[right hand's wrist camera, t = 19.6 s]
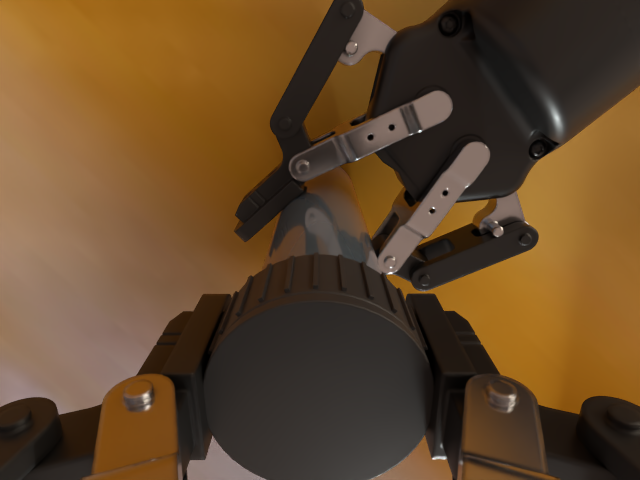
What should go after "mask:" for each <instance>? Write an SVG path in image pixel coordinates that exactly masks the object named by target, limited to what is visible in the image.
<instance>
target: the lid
mask: <svg viewBox="0 0 640 480" xmlns="http://www.w3.org/2000/svg"><path fill="white" fill-rule="evenodd" d="M426 350H428V348H427V345H426V343H425V340H424V338H423V335H422V333H421V330H420V328H419V325H418V323H417V320H416V318H415V315H414V313H413V310H412V308H411V306H408V307H407V304H406V301H405V299H404V296H403V294H402V291H401V289H400V288H398V289H396V288H395V287H394V286H393V285H392V283H391V282H390V281H389V280H388V279H387V277H386V275H385V274H384V273H382V274H380V273H379V272H377V271H376V270H374V269H372V268H371V267H369V266H367V265H366V262H364V261H362V262H361V263H360V262H358V261H355V260H352V259H349V258H345V257H343V255H341V254H339V255H338V256H334V255H324V254H318V252H314V254H313V255H302V256H297V257H294V255H292V256H290V257H289V258H288V259H286V260H283V261H280V262H277V263H275V264H273V265H272V264H271V263H270V264H268V265H267V267H266V268H265V269H263V270H262V271H260V272H259V273H257V274H256V275H255V276H254V277H253V276H250V277H248V280H247V282H246V284H245V285H244V286H243V287H242V288H241V290H240V291H239V292H236V291H235V293H234V294H233V297H232V299H231V302H230V304H229V307H228V309H227V310H226V309H225V311H224V314H223V316H222V319H221V321H220V324H219V326H218V329H217V331H216V333H215V336H214V338H213V341H212V343H211V346H210V348H209V351H208V353H207V354H209V355H211V356H210V359H209V361H208V363H207V366H206V369H205V372H204V376H203V389H204V398H205V406H206V414H207V422H208V427H209V429H210V431H211V433H212V435H213V436H214V438H215V440H216V441H217V442H218V444H219V445H220V446H221V447H222V449H223V450H224V451H225V452H226V453H227V454H228V455H229V456H230V457H231V458H232V459H233V460H234V461H236V462H237V463H238V464H240V465H241V466H242V467H244V468H245V469H247V470H249V471H251V472H252V473H254V474H256V475H258V476H260V477H262V478H265V479H267V480H370V479H373V478H375V477H377V476H379V475H381V474H383V473H385V472H387V471H389V470H390V469H392V468H393V467H395V466H396V465H398V464H399V463H400V462H401V461H403V460H404V459H405V458H406V457H407V456H408V455H409V454H410V453H411V452H412V451H413V450H414V449H415V448H416V447H417V445H418V444H419V443H420V441H421V440H422V438H423V437H424V435H425V433H426V431H427V429H428V427H429V425H430V417H431V409H432V400H433V391H434V375H433V372H432V369H431V366H430V363H429V361H428V358H427V356H426V353H425V351H426Z"/></svg>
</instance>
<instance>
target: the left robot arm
mask: <svg viewBox="0 0 640 480" xmlns="http://www.w3.org/2000/svg"><path fill="white" fill-rule="evenodd" d="M369 52H376V53H379V54H381V56H380V60H379V64H378V68H377V73H376V77H375V81H374V85H373V89H372V93H371V97H370V102H369V106H368V110H367V111H366V112H364V113H362V114H360V115H358V116H356V117H354V118H352V119H350V120H348V121H346V122H344V123H342V124H340V125H338V126H336V127H335V128H333V129H332V130H330V131H328V132H326V133H324V134H322V135H320V136H318V137H316V138H314V139H312V140H311V139H310V137H309V134H308V132H307V129H306V127H305V124H304V120H305V118H306V116H307V115H308V113H309V111H310V109H311V108H312V106H313V104H314V102H315V100H316V99H317V97H318V95H319V93H320V92H321V90H322V88H323V86H324V84H325V83H326V81H327V79H328V77H329V76H330V74H331V72H332V70H333V68H334V67H335V65H336V63H337V61H338V62H339V63H341V64H343V65H346V66H350V65H354V64H356V63H358V62H359V61H360V60H361V59H362V58H363V56H364V55H365V54H367V53H369ZM638 86H640V0H449V1H448V2H447V3H445V4H444V5H443V6H442V7H441V8H440V9H439V10H438V11H437V12H436V13H435V14H434V15H432V16H431V17H430V18H429V19H428V20H426V21H425V22H423V23H421V24H418V25H415V26H410V27H406V28H404V29H402V30H400V31H398V32H396V31H395V30H393V29H392V28H390V27H389V26H387V25H386V24H384V23H383V22H381V21H380V20H379V19H377V18H376V17H374V16H373V15H371V14H370V13H368V12H367V11H365V10H364V6H363V2H362V0H334V1H333V3H332V5H331V7H330V8H329V10H328V12H327V14H326V16H325V18H324V20H323V22H322V23H321V25H320V27H319V29H318V31H317V33H316V35H315V36H314V38H313V40H312V42H311V44H310V46H309V48H308V49H307V51H306V53H305V55H304V57H303V59H302V61H301V63H300V64H299V66H298V68H297V70H296V72H295V74H294V76H293V77H292V79H291V81H290V83H289V85H288V87H287V89H286V91H285V92H284V94H283V96H282V98H281V100H280V102H279V104H278V105H277V107H276V109H275V111H274V113H273V115H272V117H271V120H270V127H271V130H272V132H273V133H274V134H275V135H276V137H277V140H278V142H279V144H280V147H281V149H282V152H283V161H282V162H281V163H280V164H279V165H278V166H277V167H276V168H275V169H274V170H273V171H272V172H271V173H269V174H268V175H267V176H266V177H265V178H264V179H263V180H262V181H261V182H260V183H259V184H258V185H257V186H255V187H254V188H253V189H252V190H251V191H250V192H249V193H248V194H247V195H246V196H245V197H244V198H243V200H242V202H241V203H240V205H239V207H238V210H237V212H236V214H235V216H236V217H237V218H238V219H239V220H240V221H239V223H238V224H237V226H236V228H235V230H234V232H235V233H236V234H237V235H238V236H239V237H240V238H241V239H242V240H243V241H244V242H246V241H248V240H249V239H250V238H251V237H253V236H254V235H255V234H256V233H257V232H258V231H259V230H260V229H262V228H263V227H264V226H265V225H266V224H267V223H268V222H270V221H271V220H272V219H273V218H274V217H275V216H276V215H277V214H279V213H280V212H281V211H282V210H283V209H284V208H285V207H286V206H287V205H288V204H289V203H291V202H292V201H293V200H294V199H295V198H297V197H298V196H299V195H300V194H301V193H302V192H303V191H304V184H305V182H306V181H308V180H311V179H313V178H315V177H317V176H319V175H321V174H324V173H326V172H328V171H330V170H332V169H334V168H336V167H338V166H341V165H343V164H345V163H351V162H354V161H357V160H359V159H361V158H363V157H365V156H368V155H370V154H372V153H374V152H375V153H376V154H377V156H378V157H379V158H380V159H381V160H382V161H383V162H384V163H385V164H387V165H388V166H390V167H391V168H393V169H394V171H395V174H396V176H397V178H398V180H399V181H400V182H401V183H402V185H403V186H404V187H403V189H402V190H401V192H400V193H399V195H398V196H397V197H396V199H395V201H394V203H393V205H392V209H391V211H390V213H389V214H388V216H387V217H386V218H385V220H384V221H383V223H382V224H381V226H380V227H379V228H378V230H377V231H376V233H375V234H374V236H373V237H372V239H371V242H372V245H373V248H374V251H375V254H376V257H377V260H378V263H379V266H380V269H381V272H382V273H384V274H385V275H388V274H394V275H397V276H399V277H401V278H403V279H405V280H408V281H410V282H411V283H412V285H413V287H414V288H415V289H417V290H419V291H428V290H430V289H433V288H435V287H438V286H440V285H443V284H445V283H448V282H450V281H453V280H455V279H458V278H460V277H463V276H465V275H468V274H470V273H473V272H475V271H478V270H480V269H483V268H486V267H488V266H491V265H493V264H496V263H498V262H501V261H503V260H506V259H508V258H511V257H513V256H516V255H518V254H521V253H523V252H526V251H528V250H530V249H532V248H533V247H534V246H535V245H536V244H537V242H538V232H537V231H536V230H535V229H534V228H533V227H531V226H530V225H529V224H528V223H527V222H526V221H525V219H524V215H523V212H522V209H521V205H520V202H519V199H518V196H517V192H516V191H517V190H518V189H519V188H520V187H521V185H522V184H523V182H524V180H525V178H526V176H527V174H528V173H529V171H530V170H531V168H532V167H533V166H534V165H535V163H536V162H537V161H538V160H540V159H541V158H542V157H544V156H545V155H547V154H549V153H550V152H552V151H554V150H556V149H557V148H559V147H561V146H562V145H564V144H565V143H566V142H568V141H569V140H570V139H572V138H573V137H574V136H575V135H577V134H578V133H579V132H581V131H582V130H583V129H584V128H586V127H587V126H588V125H590V124H591V123H592V122H593V121H595V120H596V119H597V118H599V117H600V116H601V115H602V114H604V113H605V112H606V111H608V110H609V109H610V108H612V107H613V106H614V105H615V104H617V103H618V102H619V101H621V100H622V99H623V98H624V97H626V96H627V95H628V94H630V93H631V92H632V91H633V90H635V89H636V88H637V87H638ZM488 199H489V202H488V204H487V205H486V206H485V208H483V209H482V210H480V211H479V212H477V213H476V214H475V216H474V218H473V223H471V224H469V225H466V226H464V227H461V228H459V229H457V230H454V231H452V232H449V233H447V234H445V235H442V236H440V237H437V238H435V239H433V240H430V241H428V242H425V243H423V244H421V245H418V244H419V243H420V241H421V240H422V239H424V238H428V237H429V236H430V235H431V234H432V233H433V232H434V230H435V229H436V228H437V226H438V225H439V224H440V222H441V221H442V219H443V218H444V217H445V215H446V214H447V213H448V211H449V210H450V209H451V207H452V206H453V205H454V203H458V202H468V201H478V200H488ZM431 208H432V209H431ZM430 209H431V210H430ZM417 245H418V246H417Z"/></svg>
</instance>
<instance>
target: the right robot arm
mask: <svg viewBox="0 0 640 480" xmlns="http://www.w3.org/2000/svg"><path fill="white" fill-rule="evenodd" d="M231 299H232V297H231V295H230V294H203V295H202V297H201V299H200V300H199V302H198V304H197V306H196V308H195V310H194V311H183V312H182V313H181V314H179V315H178V316H177V317H175V318H174V319H172V320H171V321H170V322H169V323H168V325H167V327H166V328H165V330H164V332H163V335H161V336H160V338H159V340H158V341H157V345H155V346H154V348H153V349H152V351H151V353H150V354H149V356H148V357H147V359H146V361H145V362H144V364H143V366H142V367H141V369H140V370H139V372H138V374H137V375H136V376H134V377H131V378H128V379H126V380H124V381H122V382H120V383H119V384H117V385H116V386H114V387H113V388H112V389H111V390H110V391H109V392H108V393H107V394H106V396H105V397H104V399H103V402H102V404H101V405H98V406H95V407H92V408H88V409H83V410H79V411H74V412H70V413H65V414H61V415H59V414H58V410H57V407H56V404H55V403H54V402H53V401H51V400H50V399H47V398H41V397H33V398H26V399H21V400H17V401H14V402H11V403H9V404H6V405H4V406H2V407H0V480H188V475H187V467H188V464H189V461H190V460H205V459H206V455H207V452H208V449H209V445H210V442H211V439H212V433H211V431H210V429H209V427H208V422H207V414H206V406H205V398H204V389H203V376H204V372H205V369H206V366H207V363H208V361H209V359H210V356H211V355H209V354H207V353H208V351H209V348H210V346H211V343H212V341H213V338H214V336H215V333H216V331H217V329H218V326H219V324H220V321H221V319H222V316H223V314H224V311H225V309H226V310H227V309H228V307H229V304H230V302H231ZM406 304H407V307H408V306H411V308H412V310H413V313H414V315H415V318H416V320H417V323H418V325H419V328H420V330H421V333H422V335H423V338H424V340H425V343H426V345H427V348H428V350H426V351H425V353H426V356H427V358H428V361H429V363H430V366H431V369H432V372H433V375H434V391H433V400H432V409H431V417H430V425H429V427H428V429H427V431H426V433H425V437H426V440H427V444H428V447H429V451H430V454H431V457H432V459H447V460H448V463H449V466H450V469H451V472H452V480H640V407H639V406H637V405H635V404H633V403H630V402H628V401H625V400H622V399H619V398H614V397H608V396H595V397H591V398H588V399H587V400H585V401H584V402H583V404H582V407H581V411H580V414H575V413H570V412H566V411H561V410H557V409H552V408H548V407H544V406H541V405H538V402H537V399H536V397H535V396H534V394H533V393H532V392H531V391H530V390H529V389H528V388H527V387H526V386H524V385H523V384H521V383H520V382H518V381H516V380H514V379H512V378H509V377H506V376H502V375H500V373H499V372H498V370H497V368H496V367H495V365H494V363H493V362H492V360H491V358H490V357H489V355H488V353H487V352H486V350H485V349H484V347H483V345H481V342H480V340H479V339H478V337H477V335H475V332H474V330H473V329H472V327H471V326H470V324H469V322H468V321H467V320H466V319H464V318H463V317H462V316H460V315H459V314H458V313H456V312H455V311H444V310H443V308H442V306H441V305H440V303H439V301H438V299H437V297H436V295H435V294H407V296H406Z"/></svg>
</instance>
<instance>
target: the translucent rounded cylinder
mask: <svg viewBox="0 0 640 480" xmlns="http://www.w3.org/2000/svg"><path fill="white" fill-rule="evenodd" d="M314 252H318V254H324V255H334V256H338V255H339V254H341V255H343V257H345V258H349V259H352V260H355V261H358V262H360V263H361V262H362V261H364V262H366V265H367V266H369V267H371V268H372V269H374V270H376V271H377V272H379V273H380V274H382V272H381V269H380V266H379V263H378V260H377V257H376V254H375V251H374V248H373V245H372V242H371V239H370V236H369V233H368V229H367V226H366V223H365V220H364V217H363V214H362V211H361V208H360V205H359V202H358V199H357V196H356V193H355V190H354V187H353V183H352V181H351V179H350V177H349V175H348V174H347V173H346V172H345V171H344V170H343V169H342V168H341V167H339V166H338V167H336V168H334V169H332V170H330V171H328V172H326V173H324V174H321V175H319V176H317V177H315V178H313V179H311V180H308V181H306V182H305V184H304V191H303V192H302V193H301V194H300V195H299V196H298V197H297V198H295V199H294V200H293V201H292V202H291V203H289V204H288V205H287V206H286V207H285V208H284V209H283V210H282V211H281V212H280V213H279V214H278V216H277V219H276V223H275V226H274V230H273V233H272V237H271V240H270V244H269V247H268V250H267V254H266V257H265V261H264V264H263V268H262V270H263V269H265V268H266V267H267V265H268V264H270V263H271V264H272V265H273V264H275V263H277V262H280V261H283V260H286V259H288V258H289V257H290V256H292V255H294V257H297V256H302V255H313V254H314Z"/></svg>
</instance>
